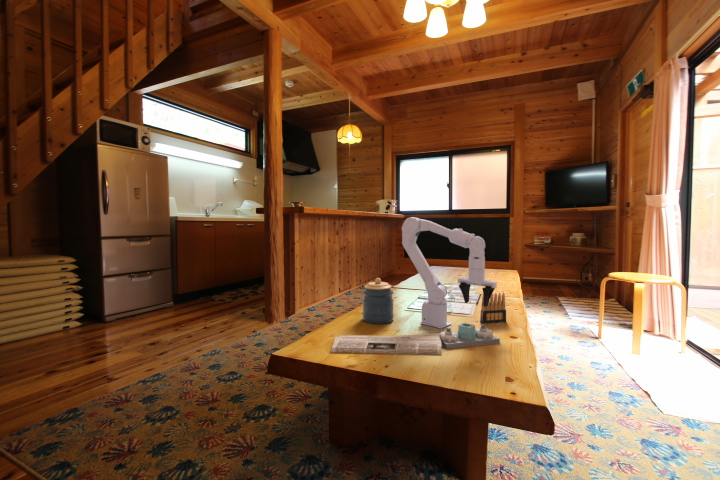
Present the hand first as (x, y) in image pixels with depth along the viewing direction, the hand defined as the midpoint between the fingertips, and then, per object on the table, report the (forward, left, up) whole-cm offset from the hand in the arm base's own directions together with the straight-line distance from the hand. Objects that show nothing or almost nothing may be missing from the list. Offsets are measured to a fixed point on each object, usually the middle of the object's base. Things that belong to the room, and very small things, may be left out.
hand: (476, 304), depth 124 cm
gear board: (+4, -15, -9) cm, 18 cm away
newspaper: (-12, -37, -10) cm, 40 cm away
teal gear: (+4, -15, -8) cm, 17 cm away
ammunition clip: (+1, +13, -10) cm, 16 cm away
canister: (-34, -18, -10) cm, 40 cm away
